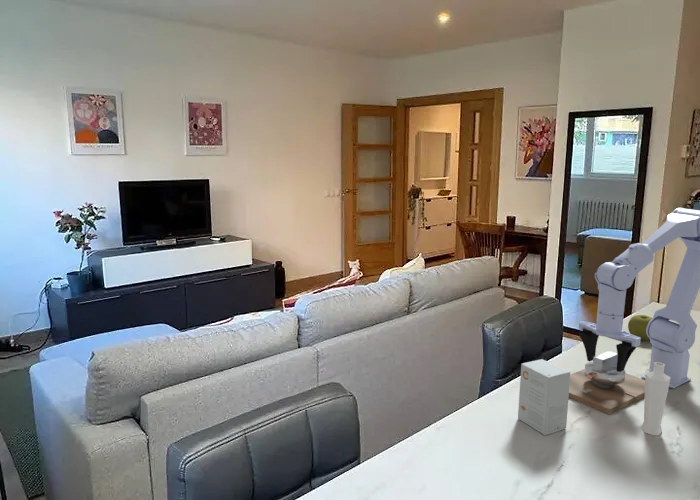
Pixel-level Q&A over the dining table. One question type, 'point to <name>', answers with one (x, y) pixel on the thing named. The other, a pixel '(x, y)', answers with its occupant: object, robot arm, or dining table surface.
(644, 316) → the apple
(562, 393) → the small box
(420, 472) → the dining table surface
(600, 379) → the cap
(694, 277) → the robot arm
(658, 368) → the perfume bottle
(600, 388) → the post board
